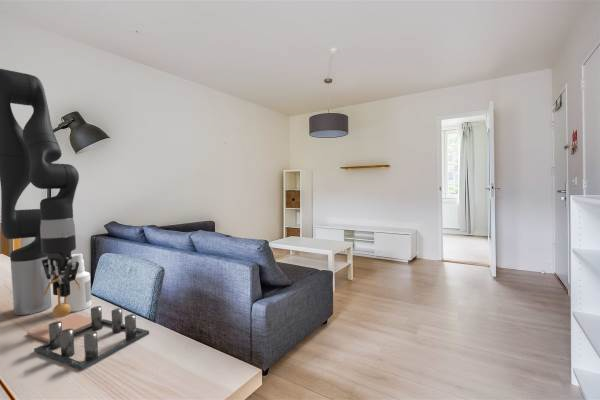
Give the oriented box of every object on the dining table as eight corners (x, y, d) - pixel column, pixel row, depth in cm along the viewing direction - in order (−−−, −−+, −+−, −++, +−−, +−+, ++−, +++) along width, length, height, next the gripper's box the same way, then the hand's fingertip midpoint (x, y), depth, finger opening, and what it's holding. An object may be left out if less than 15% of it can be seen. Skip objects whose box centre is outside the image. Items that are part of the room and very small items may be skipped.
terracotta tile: (27, 334, 80) (27, 331, 80) (75, 316, 91) (75, 313, 91) (50, 342, 76) (50, 339, 76) (98, 322, 87) (98, 319, 87)
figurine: (44, 324, 79) (49, 284, 77) (38, 313, 82) (43, 274, 80) (80, 315, 86) (86, 278, 84) (74, 305, 89) (79, 269, 87)
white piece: (96, 305, 100) (93, 253, 99) (75, 313, 93) (72, 257, 92) (82, 302, 102) (79, 251, 101) (61, 310, 96) (57, 256, 95)
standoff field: (34, 351, 72) (32, 328, 71) (103, 321, 87) (102, 302, 87) (82, 370, 64) (80, 344, 64) (149, 333, 80) (148, 312, 80)
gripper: (28, 235, 81) (31, 296, 82) (57, 238, 76) (61, 303, 77) (59, 231, 88) (62, 287, 89) (88, 233, 83) (91, 293, 84)
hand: (61, 294), depth 83 cm, fingers closed on figurine, 2 cm apart
